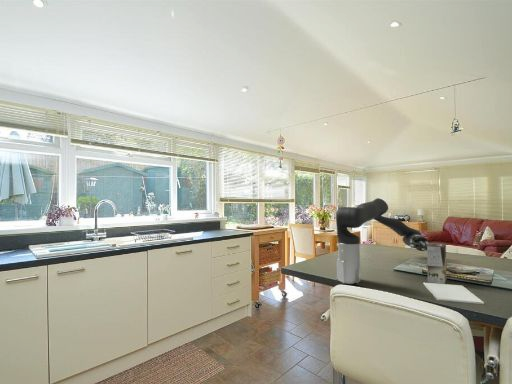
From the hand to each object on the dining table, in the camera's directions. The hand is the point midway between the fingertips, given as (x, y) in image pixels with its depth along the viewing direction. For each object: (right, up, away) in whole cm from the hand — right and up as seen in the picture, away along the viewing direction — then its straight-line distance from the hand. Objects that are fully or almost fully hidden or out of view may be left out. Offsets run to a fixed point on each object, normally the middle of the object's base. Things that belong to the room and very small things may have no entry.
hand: (429, 249), depth 127 cm
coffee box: (-3, -12, -10) cm, 16 cm away
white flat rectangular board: (-7, -12, -24) cm, 28 cm away
